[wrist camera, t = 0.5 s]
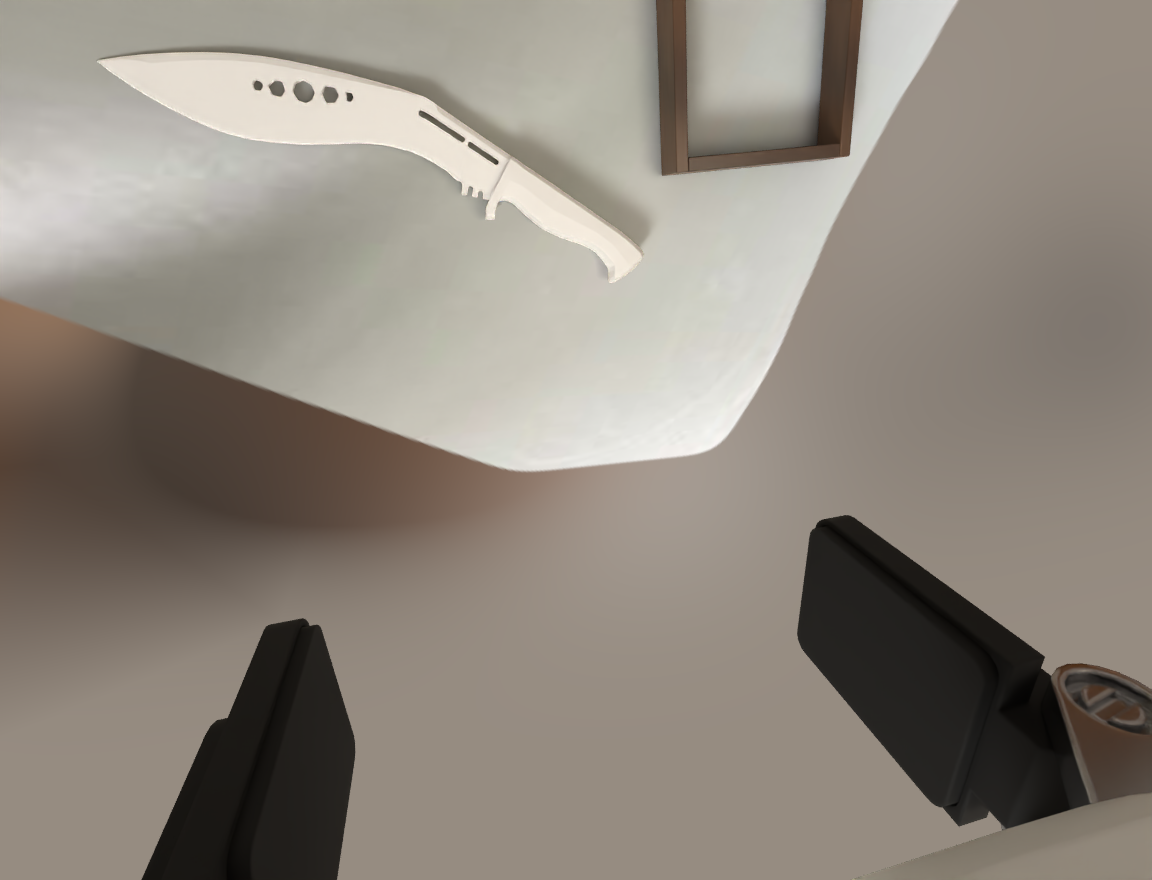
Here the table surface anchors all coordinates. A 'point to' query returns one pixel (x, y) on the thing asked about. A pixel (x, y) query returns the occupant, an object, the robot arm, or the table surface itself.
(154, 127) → the table surface
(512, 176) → the knife
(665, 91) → the walnut frame
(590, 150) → the table surface
